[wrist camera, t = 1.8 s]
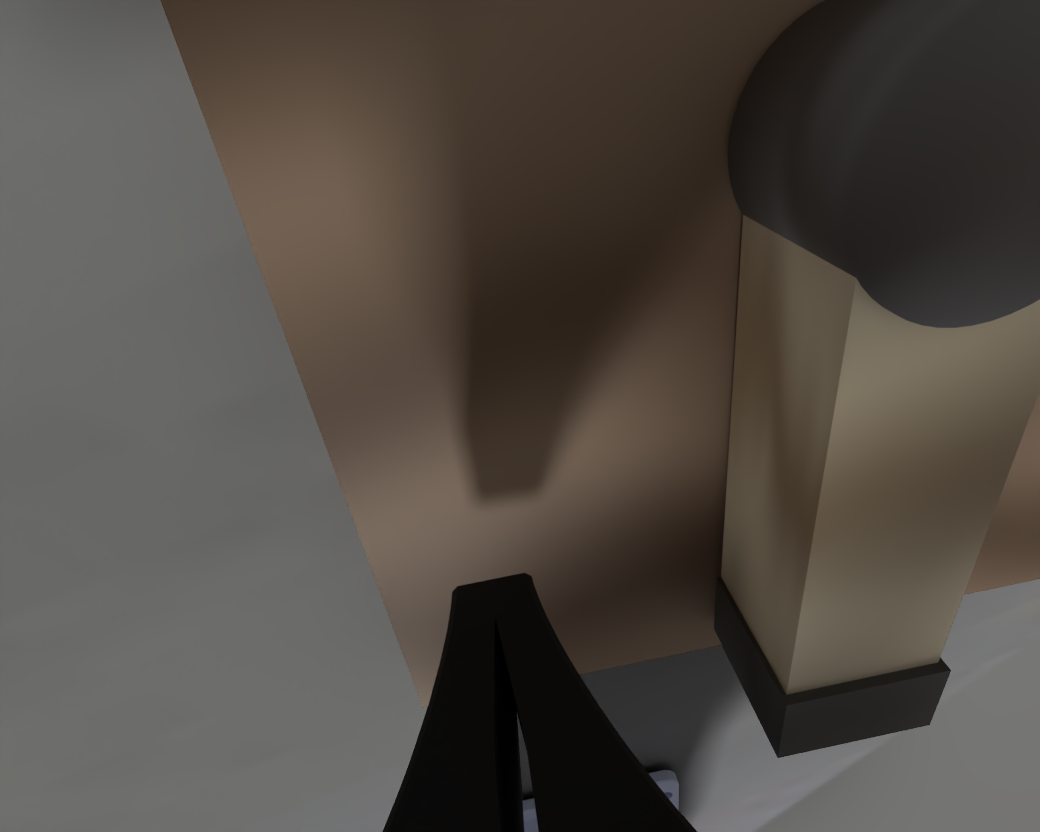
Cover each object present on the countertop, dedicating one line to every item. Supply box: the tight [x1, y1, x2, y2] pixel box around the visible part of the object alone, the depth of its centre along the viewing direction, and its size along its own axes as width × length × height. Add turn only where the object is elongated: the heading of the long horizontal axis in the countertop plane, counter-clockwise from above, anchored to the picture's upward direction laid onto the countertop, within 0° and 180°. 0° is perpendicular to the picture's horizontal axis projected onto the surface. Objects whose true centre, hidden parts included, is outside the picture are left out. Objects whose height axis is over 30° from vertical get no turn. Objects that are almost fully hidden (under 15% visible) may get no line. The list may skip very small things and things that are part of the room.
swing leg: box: [714, 0, 1040, 758], centre depth 10 cm, size 13×4×3 cm, turn 8°
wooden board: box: [161, 0, 1040, 707], centre depth 12 cm, size 18×18×2 cm
